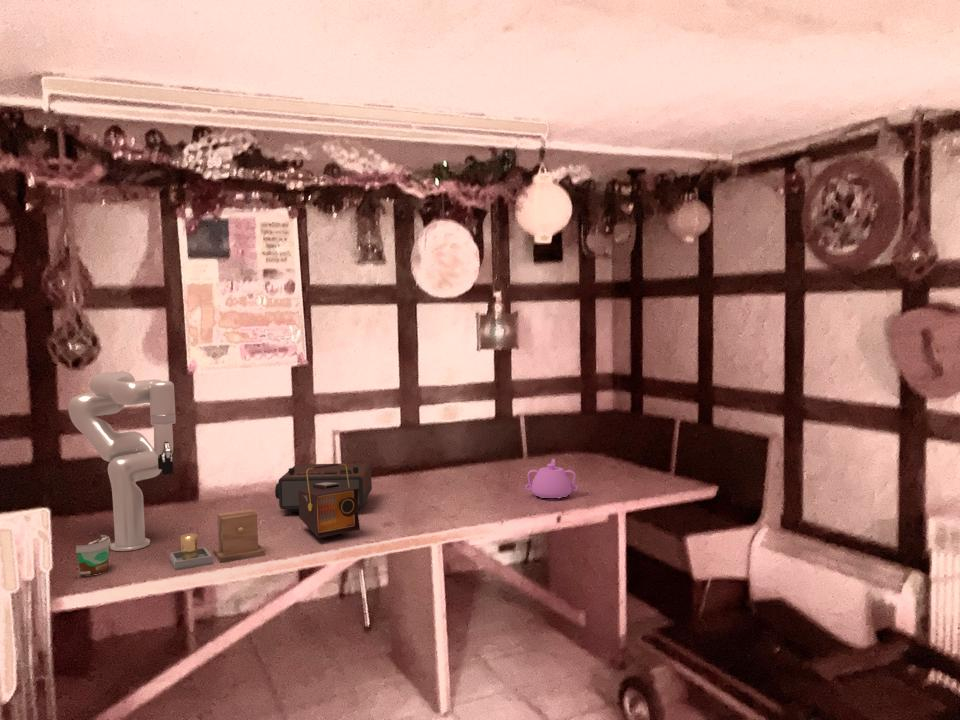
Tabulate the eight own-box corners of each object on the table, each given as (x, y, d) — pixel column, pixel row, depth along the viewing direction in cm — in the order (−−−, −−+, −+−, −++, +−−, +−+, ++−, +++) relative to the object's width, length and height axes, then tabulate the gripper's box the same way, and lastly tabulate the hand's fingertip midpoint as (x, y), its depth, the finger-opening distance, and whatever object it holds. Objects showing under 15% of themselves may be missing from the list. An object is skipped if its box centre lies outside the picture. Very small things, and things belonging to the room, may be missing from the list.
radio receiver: (273, 517, 301) (271, 472, 300) (289, 500, 328) (287, 458, 327) (363, 515, 301) (361, 469, 300) (372, 498, 328) (371, 456, 327)
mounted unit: (213, 552, 258) (211, 512, 257) (255, 545, 264) (254, 506, 263) (220, 562, 247) (218, 521, 246) (264, 555, 254) (263, 514, 253)
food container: (95, 579, 234) (93, 546, 234) (77, 578, 235) (75, 546, 235) (121, 565, 246) (119, 534, 246) (103, 565, 247) (102, 534, 247)
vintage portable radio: (319, 546, 262) (316, 473, 261) (292, 531, 281) (289, 463, 280) (362, 537, 272) (360, 466, 270) (333, 523, 291) (331, 457, 289)
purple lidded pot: (578, 489, 336) (578, 458, 335) (577, 502, 315) (577, 468, 314) (528, 488, 339) (527, 457, 338) (523, 501, 318) (523, 467, 317)
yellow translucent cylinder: (181, 559, 250) (179, 534, 249) (198, 556, 252) (196, 532, 251) (182, 563, 245) (180, 539, 244) (199, 560, 247) (197, 536, 247)
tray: (170, 560, 250) (169, 552, 250) (205, 554, 256) (205, 547, 256) (175, 570, 241) (174, 562, 241) (212, 563, 246) (211, 556, 246)
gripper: (147, 417, 257) (150, 468, 258) (154, 423, 242) (156, 477, 243) (171, 415, 261) (174, 465, 262) (179, 421, 246) (182, 474, 247)
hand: (165, 471), depth 253 cm, fingers open, 9 cm apart
